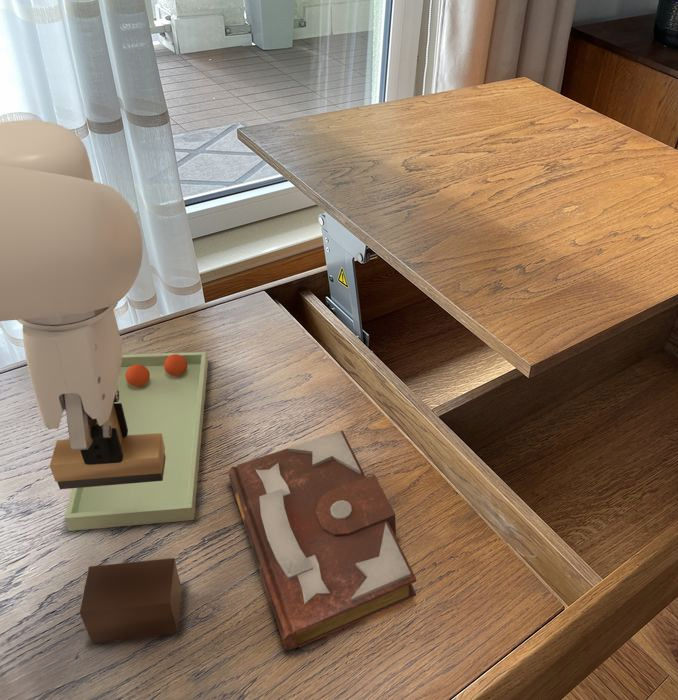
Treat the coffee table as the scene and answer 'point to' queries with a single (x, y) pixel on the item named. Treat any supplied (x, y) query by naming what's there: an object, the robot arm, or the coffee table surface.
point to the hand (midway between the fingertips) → (107, 447)
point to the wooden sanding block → (136, 467)
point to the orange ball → (137, 375)
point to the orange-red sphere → (175, 365)
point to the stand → (131, 600)
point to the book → (321, 538)
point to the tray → (179, 440)
